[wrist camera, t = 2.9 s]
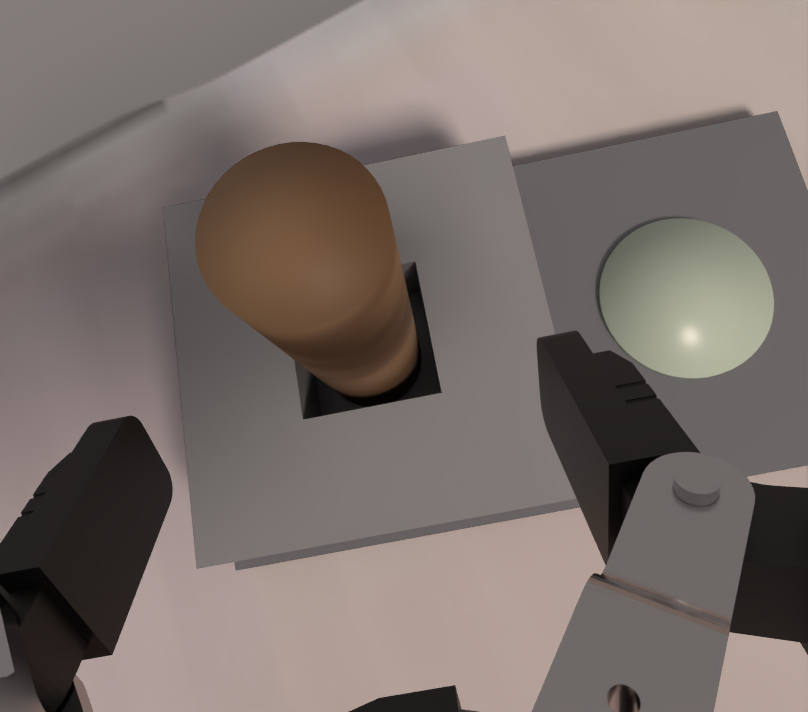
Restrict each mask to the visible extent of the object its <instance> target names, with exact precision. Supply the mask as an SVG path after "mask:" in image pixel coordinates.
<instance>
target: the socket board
mask: <svg viewBox="0 0 808 712" xmlns="http://www.w3.org/2000/svg"><path fill="white" fill-rule="evenodd" d="M363 166H364V167H365V168H367V169H368V171H369V172H370V173H371V174H372V175H373V177H374V178H375V179H376V181H377V182H378V184H379V186H380V187H381V189H382V191H383V194H384V196H385V198H386V201H387V205H388V208H389V212H390V217H391V221H392V226H393V230H394V234H395V239H396V243H397V247H398V252H399V256H400V261H401V265H402V269H403V274H404V278H405V282H406V287H407V291H408V296H409V300H410V304H411V309H412V313H413V317H414V322H415V326H416V331H417V335H418V339H419V344H420V348H421V368H420V371H419V375H418V377H417V379H416V381H415V383H414V384H413V386H412V387H411V388H410V390H409V391H408V392H407V393H406V394H405V395H404V396H402V397H401V398H400V399H398V400H396V401H394V402H392V403H387V404H381V405H376V406H371V407H366V406H361V405H357V404H354V403H352V402H350V401H348V400H346V399H345V398H343V397H342V396H341V395H340V394H338V393H337V392H336V391H334V390H333V389H332V388H330V387H329V386H328V385H326V384H325V383H324V382H323V381H321V380H320V379H319V378H317V377H316V376H315V375H313V374H312V373H311V372H310V371H308V370H307V369H306V368H304V367H303V366H302V365H300V364H299V363H298V362H296V361H295V360H294V359H293V358H291V357H290V356H289V355H287V354H286V353H285V352H283V351H282V350H281V349H280V348H278V347H277V346H276V345H274V344H273V343H272V342H270V341H269V340H268V339H266V338H265V337H264V336H263V335H261V334H260V333H259V332H257V331H256V330H255V329H253V328H252V327H251V326H250V325H248V324H247V323H246V322H244V321H243V320H242V319H240V318H239V317H238V316H236V315H235V314H234V313H233V312H231V311H230V310H229V309H228V308H226V307H225V306H224V305H223V304H221V303H220V302H219V300H218V299H217V298H216V297H215V296H214V295H213V294H212V292H211V291H210V289H209V288H208V287H207V285H206V283H205V281H204V279H203V277H202V275H201V272H200V269H199V266H198V263H197V258H196V252H195V234H196V226H197V222H198V218H199V214H200V212H201V209H202V206H203V204H204V202H205V200H206V199H202V200H197V201H193V202H188V203H183V204H178V205H174V206H169V207H164V208H163V213H164V224H165V235H166V245H167V256H168V267H169V278H170V288H171V299H172V310H173V320H174V331H175V342H176V353H177V363H178V374H179V385H180V396H181V406H182V417H183V428H184V438H185V449H186V460H187V471H188V481H189V492H190V503H191V513H192V524H193V535H194V546H195V556H196V567H197V569H198V568H204V567H209V566H214V565H220V564H225V563H231V562H235V568H236V570H241V569H247V568H252V567H258V566H263V565H269V564H274V563H279V562H285V561H290V560H296V559H301V558H307V557H312V556H317V555H323V554H328V553H334V552H339V551H345V550H350V549H355V548H361V547H366V546H372V545H377V544H383V543H388V542H394V541H399V540H404V539H410V538H415V537H421V536H426V535H432V534H437V533H442V532H448V531H453V530H459V529H464V528H470V527H475V526H480V525H486V524H491V523H497V522H502V521H508V520H513V519H518V518H524V517H529V516H535V515H540V514H546V513H551V512H557V511H562V510H567V509H573V508H578V507H580V505H579V503H578V501H577V498H576V496H575V494H574V491H573V489H572V487H571V485H570V482H569V480H568V478H567V475H566V473H565V471H564V468H563V466H562V464H561V462H560V459H559V457H558V455H557V452H556V450H555V448H554V446H553V443H552V441H551V439H550V436H549V434H548V432H547V429H546V426H545V422H544V418H543V414H542V409H541V401H540V388H539V375H538V361H537V339H538V338H539V337H544V336H549V335H554V334H559V333H564V332H569V331H574V330H577V331H578V332H579V333H580V334H581V336H582V337H583V339H584V340H585V342H586V343H587V345H588V346H589V348H590V349H591V351H592V352H593V353H598V352H603V351H608V350H611V351H612V352H614V353H616V354H618V355H619V356H621V357H623V358H625V359H626V360H628V361H630V362H632V363H633V364H634V366H635V367H636V368H637V370H638V371H639V372H640V374H641V375H642V376H643V378H644V379H645V380H646V384H649V385H650V387H651V388H652V389H653V391H654V392H655V393H656V395H657V399H660V400H661V401H662V403H663V404H664V405H665V407H666V408H667V409H668V411H669V412H670V413H671V414H672V416H673V417H674V418H675V420H676V421H677V422H678V424H679V425H680V426H681V428H682V429H683V430H684V432H685V433H686V434H687V436H688V437H689V438H690V440H691V441H692V442H693V443H694V445H695V446H696V447H697V449H698V450H699V451H700V453H702V454H707V455H710V456H714V457H717V458H719V459H721V460H724V461H726V462H728V463H729V464H731V465H733V466H734V467H736V468H737V469H738V470H740V471H741V472H742V473H743V474H744V475H745V476H746V477H747V476H752V475H758V474H763V473H768V472H774V471H779V470H785V469H790V468H796V467H801V466H806V465H808V190H807V188H806V185H805V182H804V180H803V177H802V174H801V172H800V169H799V167H798V164H797V161H796V159H795V156H794V153H793V151H792V148H791V146H790V143H789V140H788V138H787V135H786V132H785V130H784V127H783V125H782V122H781V119H780V117H779V114H778V112H777V111H776V112H771V113H766V114H761V115H756V116H752V117H747V118H742V119H737V120H732V121H728V122H723V123H718V124H713V125H708V126H704V127H699V128H694V129H689V130H684V131H680V132H675V133H670V134H665V135H660V136H656V137H651V138H646V139H641V140H636V141H632V142H627V143H622V144H617V145H612V146H608V147H603V148H598V149H593V150H588V151H584V152H579V153H574V154H569V155H564V156H560V157H555V158H550V159H545V160H540V161H536V162H531V163H526V164H521V165H516V166H513V165H512V161H511V157H510V154H509V150H508V146H507V142H506V138H505V136H501V137H496V138H492V139H487V140H482V141H477V142H473V143H468V144H463V145H458V146H454V147H449V148H444V149H439V150H435V151H430V152H425V153H420V154H416V155H411V156H406V157H401V158H397V159H392V160H387V161H382V162H378V163H373V164H368V165H363Z"/></svg>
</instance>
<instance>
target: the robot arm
mask: <svg viewBox="0 0 808 712" xmlns="http://www.w3.org/2000/svg"><path fill="white" fill-rule="evenodd" d="M537 361H538V375H539V388H540V401H541V409H542V414H543V418H544V422H545V426H546V429H547V432H548V434H549V436H550V439H551V441H552V443H553V446H554V448H555V450H556V452H557V455H558V457H559V459H560V462H561V464H562V466H563V468H564V471H565V473H566V475H567V478H568V480H569V482H570V485H571V487H572V489H573V491H574V494H575V496H576V498H577V501H578V503H579V505H580V507H581V510H582V512H583V514H584V517H585V519H586V521H587V523H588V526H589V528H590V530H591V533H592V535H593V537H594V539H595V542H596V544H597V546H598V549H599V551H600V553H601V555H602V558H603V560H604V562H605V565H606V567H605V569H604V571H603V572H602V574H601V575H599V574H596V573H594V574H592V576H591V577H590V578H589V580H588V581H587V583H586V585H585V587H584V589H583V591H582V593H581V596H580V598H579V601H578V603H577V605H576V608H575V610H574V612H573V615H572V617H571V620H570V622H569V624H568V627H567V629H566V632H565V634H564V636H563V639H562V641H561V643H560V646H559V648H558V651H557V653H556V655H555V658H554V660H553V662H552V665H551V667H550V670H549V672H548V674H547V677H546V679H545V682H544V684H543V686H542V689H541V691H540V693H539V696H538V698H537V701H536V703H535V705H534V708H533V710H532V712H713V711H714V706H715V701H716V696H717V691H718V686H719V681H720V676H721V671H722V666H723V661H724V656H725V651H726V646H727V641H728V636H729V632H733V633H740V634H747V635H754V636H760V637H767V638H774V639H781V640H788V641H795V642H800V643H801V644H802V646H803V648H804V649H805V651H806V653H807V654H808V488H800V487H785V486H771V485H762V484H757V483H752V482H750V481H749V480H748V479H747V477H746V476H745V475H744V474H743V473H742V472H741V471H740V470H738V469H737V468H736V467H734V466H733V465H731V464H729V463H728V462H726V461H724V460H721V459H719V458H717V457H714V456H710V455H707V454H702V453H700V451H699V450H698V449H697V447H696V446H695V445H694V443H693V442H692V441H691V440H690V438H689V437H688V436H687V434H686V433H685V432H684V430H683V429H682V428H681V426H680V425H679V424H678V422H677V421H676V420H675V418H674V417H673V416H672V414H671V413H670V412H669V411H668V409H667V408H666V407H665V405H664V404H663V403H662V401H661V400H660V399H657V395H656V393H655V392H654V391H653V389H652V388H651V387H650V385H649V384H646V380H645V379H644V378H643V376H642V375H641V374H640V372H639V371H638V370H637V368H636V367H635V366H634V364H633V363H632V362H630V361H628V360H626V359H625V358H623V357H621V356H619V355H618V354H616V353H614V352H612V351H611V350H608V351H603V352H598V353H593V352H592V351H591V349H590V348H589V346H588V345H587V343H586V342H585V340H584V339H583V337H582V336H581V334H580V333H579V332H578V331H577V330H574V331H569V332H564V333H559V334H554V335H549V336H544V337H539V338H538V339H537ZM33 496H34V498H33V499H30V500H29V502H28V503H27V505H26V506H25V508H24V509H23V511H22V512H21V514H22V516H21V517H18V518H17V520H16V521H15V523H14V524H13V526H12V527H11V528H10V530H9V531H8V533H7V534H6V536H5V537H4V539H3V540H2V542H1V543H0V712H93V709H92V706H91V704H90V701H89V698H88V695H87V692H86V689H85V686H84V684H83V682H82V681H81V680H80V679H79V678H78V677H77V675H76V672H77V670H78V668H79V665H80V663H81V661H82V660H86V659H91V658H97V657H103V656H108V655H112V654H113V652H114V649H115V646H116V644H117V641H118V639H119V636H120V633H121V631H122V628H123V626H124V623H125V620H126V618H127V615H128V612H129V610H130V607H131V605H132V602H133V599H134V597H135V594H136V592H137V589H138V586H139V584H140V581H141V579H142V576H143V573H144V571H145V568H146V565H147V563H148V560H149V558H150V555H151V552H152V550H153V547H154V545H155V542H156V539H157V537H158V534H159V532H160V529H161V526H162V524H163V521H164V519H165V516H166V513H167V511H168V508H169V505H170V503H171V499H172V481H171V477H170V474H169V471H168V469H167V467H166V466H165V464H164V462H163V460H162V459H161V457H160V455H159V453H158V451H157V450H156V448H155V446H154V444H153V443H152V441H151V439H150V437H149V435H148V434H147V432H146V430H145V428H144V427H143V425H142V423H141V422H140V421H139V419H137V418H136V417H134V416H126V417H121V418H116V419H111V420H106V421H101V422H96V423H93V424H91V425H90V426H89V427H88V428H87V430H86V431H85V433H84V434H83V436H82V437H81V439H80V440H79V442H78V444H77V445H76V447H75V448H74V450H73V451H72V453H69V454H68V455H67V456H66V457H65V458H64V459H63V460H62V461H60V462H59V463H58V464H57V465H56V466H55V467H54V468H53V469H52V470H51V471H49V472H48V473H47V475H46V476H45V478H44V479H43V481H42V482H41V484H40V485H39V487H38V488H37V490H36V491H35V493H34V494H33ZM350 712H477V711H470V710H462V709H461V706H460V702H459V698H458V694H457V691H456V687H455V685H454V686H448V687H442V688H436V689H430V690H424V691H418V692H412V693H407V694H401V695H395V696H389V697H383V698H378V699H376V700H374V701H372V702H369V703H367V704H365V705H363V706H361V707H358V708H356V709H354V710H352V711H350Z"/></svg>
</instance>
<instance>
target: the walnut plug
mask: <svg viewBox="0 0 808 712" xmlns="http://www.w3.org/2000/svg"><path fill="white" fill-rule="evenodd" d="M195 252H196V258H197V263H198V266H199V269H200V272H201V275H202V277H203V279H204V281H205V283H206V285H207V287H208V288H209V289H210V291H211V292H212V294H213V295H214V296H215V297H216V298H217V299H218V300H219V302H220V303H221V304H223V305H224V306H225V307H226V308H228V309H229V310H230V311H231V312H233V313H234V314H235V315H236V316H238V317H239V318H240V319H242V320H243V321H244V322H246V323H247V324H248V325H250V326H251V327H252V328H253V329H255V330H256V331H257V332H259V333H260V334H261V335H263V336H264V337H265V338H266V339H268V340H269V341H270V342H272V343H273V344H274V345H276V346H277V347H278V348H280V349H281V350H282V351H283V352H285V353H286V354H287V355H289V356H290V357H291V358H293V359H294V360H295V361H296V362H298V363H299V364H300V365H302V366H303V367H304V368H306V369H307V370H308V371H310V372H311V373H312V374H313V375H315V376H316V377H317V378H319V379H320V380H321V381H323V382H324V383H325V384H326V385H328V386H329V387H330V388H332V389H333V390H334V391H336V392H337V393H338V394H340V395H341V396H342V397H343V398H345V399H346V400H348V401H350V402H352V403H354V404H357V405H361V406H366V407H371V406H376V405H381V404H387V403H392V402H394V401H396V400H398V399H400V398H401V397H402V396H404V395H405V394H406V393H407V392H408V391H409V390H410V388H411V387H412V386H413V384H414V383H415V381H416V379H417V377H418V375H419V371H420V368H421V348H420V344H419V339H418V335H417V331H416V326H415V322H414V317H413V313H412V309H411V304H410V300H409V296H408V291H407V287H406V282H405V278H404V274H403V269H402V265H401V261H400V256H399V252H398V247H397V243H396V239H395V234H394V230H393V226H392V221H391V217H390V212H389V208H388V205H387V201H386V198H385V196H384V194H383V191H382V189H381V187H380V186H379V184H378V182H377V181H376V179H375V178H374V177H373V175H372V174H371V173H370V172H369V171H368V169H367V168H365V167H364V166H363V165H362V164H361V163H360V162H359V161H357V160H356V159H354V158H353V157H351V156H350V155H348V154H346V153H344V152H342V151H340V150H338V149H335V148H333V147H330V146H327V145H322V144H317V143H308V142H291V143H284V144H278V145H275V146H271V147H267V148H265V149H262V150H260V151H257V152H255V153H253V154H251V155H249V156H247V157H246V158H244V159H242V160H241V161H240V162H238V163H237V164H235V165H234V166H233V167H232V168H230V169H229V170H228V171H227V172H226V173H225V174H224V175H223V176H222V177H221V178H220V179H219V181H218V182H217V183H216V184H215V185H214V187H213V188H212V190H211V191H210V193H209V194H208V196H207V198H206V200H205V202H204V204H203V206H202V209H201V212H200V214H199V218H198V222H197V226H196V234H195Z"/></svg>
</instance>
